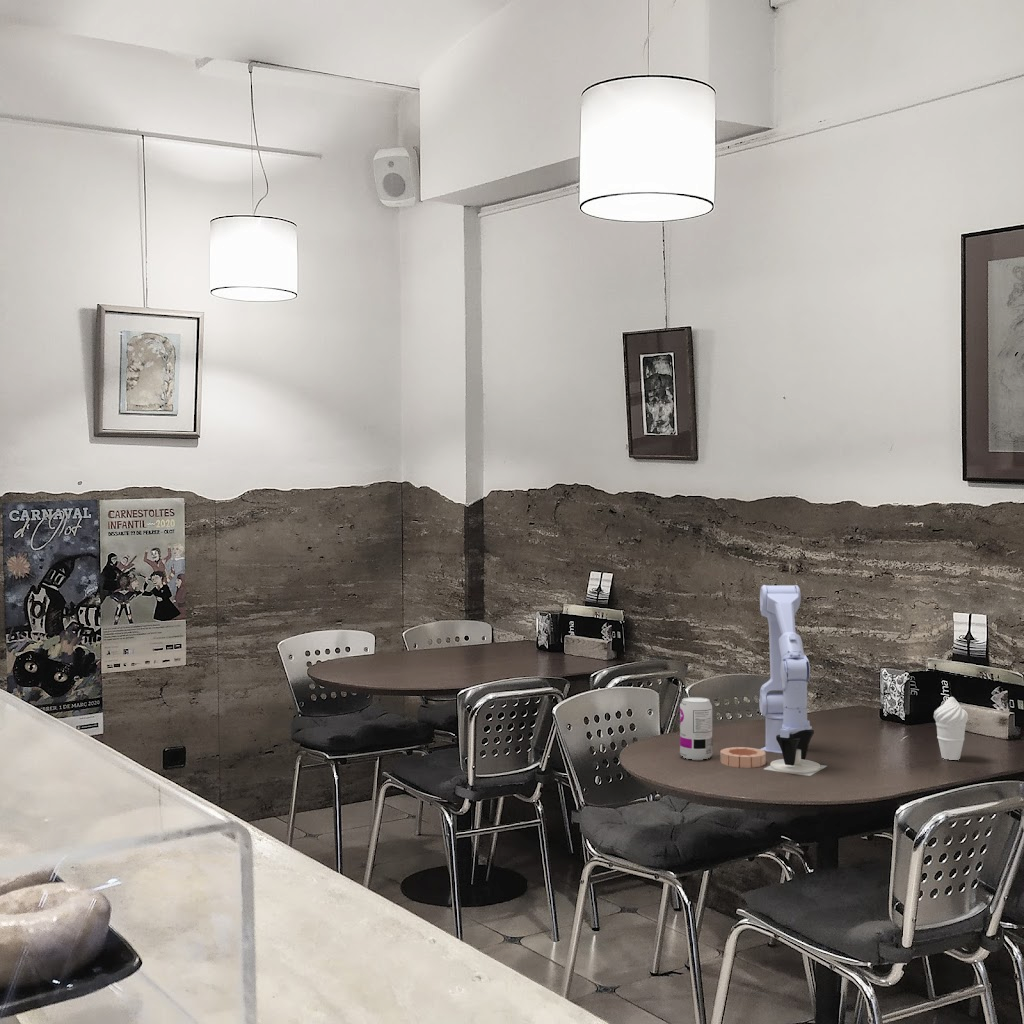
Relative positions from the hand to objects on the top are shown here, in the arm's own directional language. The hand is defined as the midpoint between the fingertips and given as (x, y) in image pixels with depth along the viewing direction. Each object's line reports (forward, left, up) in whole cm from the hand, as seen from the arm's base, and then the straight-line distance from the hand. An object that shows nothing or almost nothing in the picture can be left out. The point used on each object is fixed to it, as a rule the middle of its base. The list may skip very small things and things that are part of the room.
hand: (795, 761), depth 287 cm
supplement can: (+2, -26, -2) cm, 26 cm away
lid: (0, 0, -1) cm, 1 cm away
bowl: (+2, -13, -2) cm, 13 cm away
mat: (0, 0, -2) cm, 2 cm away
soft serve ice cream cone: (-32, +29, -2) cm, 43 cm away
